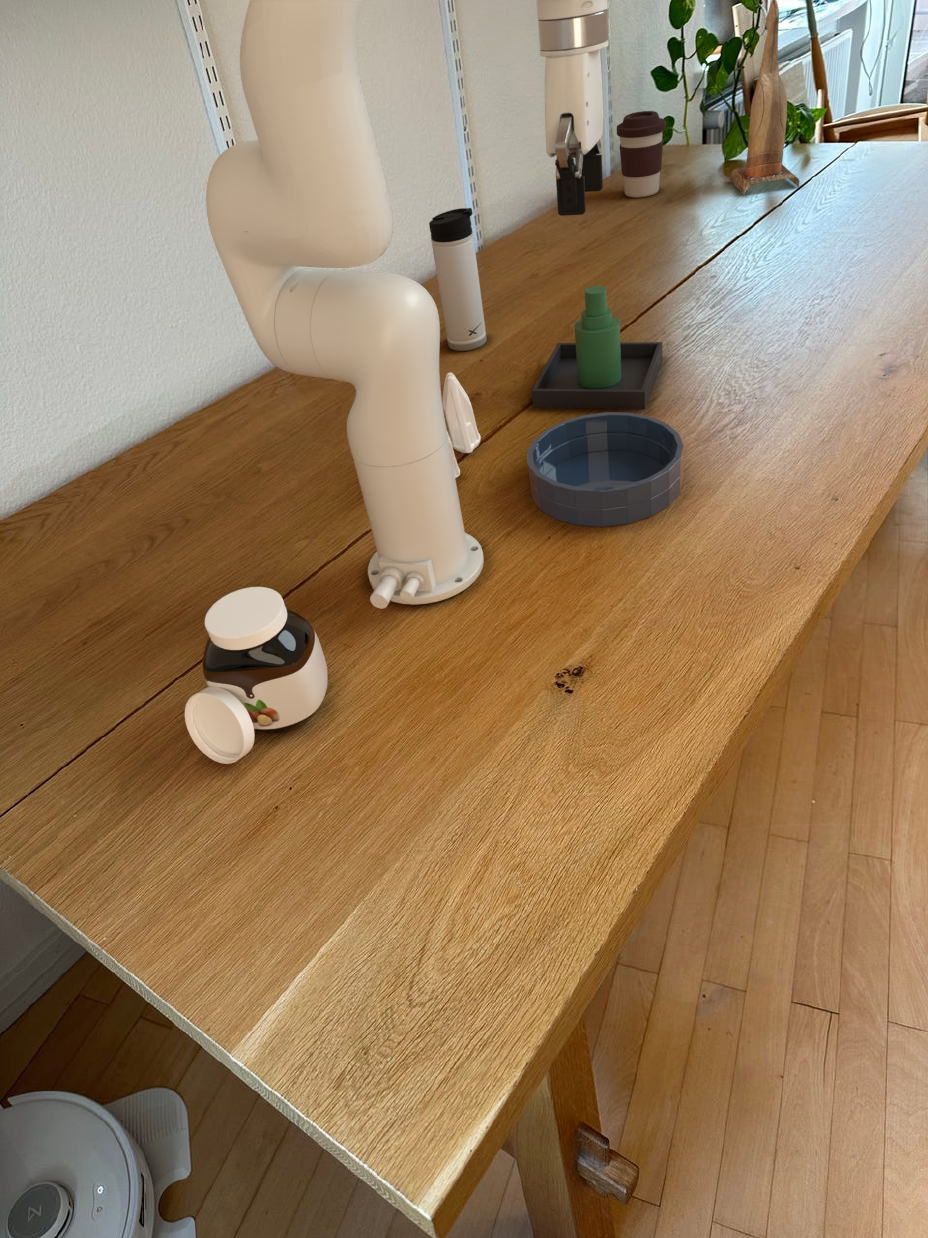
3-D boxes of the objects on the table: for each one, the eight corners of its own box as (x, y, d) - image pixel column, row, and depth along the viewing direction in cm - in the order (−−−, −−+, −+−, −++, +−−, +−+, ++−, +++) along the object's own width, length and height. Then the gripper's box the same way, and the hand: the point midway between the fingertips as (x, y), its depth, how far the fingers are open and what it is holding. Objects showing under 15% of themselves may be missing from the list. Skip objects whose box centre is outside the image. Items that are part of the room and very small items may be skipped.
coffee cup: (612, 192, 191) (610, 115, 181) (655, 182, 192) (655, 105, 182) (627, 203, 183) (625, 123, 174) (672, 193, 184) (672, 113, 174)
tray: (645, 411, 114) (644, 391, 112) (533, 409, 119) (531, 390, 117) (662, 360, 125) (662, 341, 123) (559, 360, 130) (557, 342, 128)
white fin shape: (460, 437, 116) (447, 358, 109) (489, 440, 114) (478, 360, 107) (421, 485, 108) (404, 404, 101) (451, 489, 106) (436, 406, 99)
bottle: (617, 389, 118) (613, 297, 110) (573, 388, 120) (567, 298, 112) (624, 369, 122) (622, 280, 114) (583, 369, 124) (577, 281, 116)
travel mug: (485, 350, 136) (467, 216, 124) (444, 352, 138) (422, 220, 125) (492, 333, 141) (475, 202, 128) (452, 336, 142) (432, 206, 130)
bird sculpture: (781, 173, 184) (796, -12, 163) (801, 187, 175) (819, -7, 154) (728, 182, 184) (736, -1, 164) (745, 197, 175) (756, 5, 155)
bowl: (670, 534, 93) (670, 494, 90) (514, 524, 98) (509, 486, 95) (691, 451, 105) (692, 413, 102) (551, 446, 111) (547, 410, 107)
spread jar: (340, 673, 84) (308, 578, 76) (321, 765, 75) (283, 667, 67) (220, 683, 85) (178, 590, 78) (188, 773, 76) (138, 679, 69)
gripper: (558, 26, 102) (567, 184, 113) (518, 51, 90) (532, 225, 101) (622, 18, 100) (625, 180, 110) (590, 43, 87) (597, 222, 98)
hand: (581, 202), depth 106 cm, fingers open, 9 cm apart
